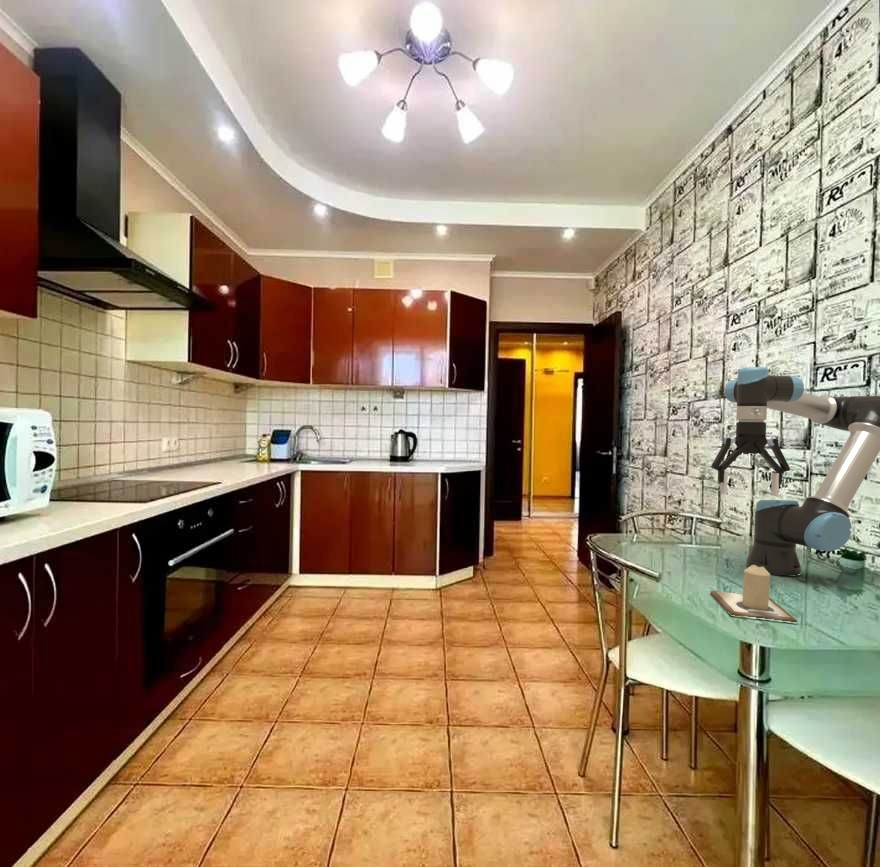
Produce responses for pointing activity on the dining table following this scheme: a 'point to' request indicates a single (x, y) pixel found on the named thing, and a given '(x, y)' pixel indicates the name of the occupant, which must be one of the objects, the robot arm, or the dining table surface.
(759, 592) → the candle
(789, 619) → the brown tray
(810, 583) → the dining table surface
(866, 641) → the dining table surface
